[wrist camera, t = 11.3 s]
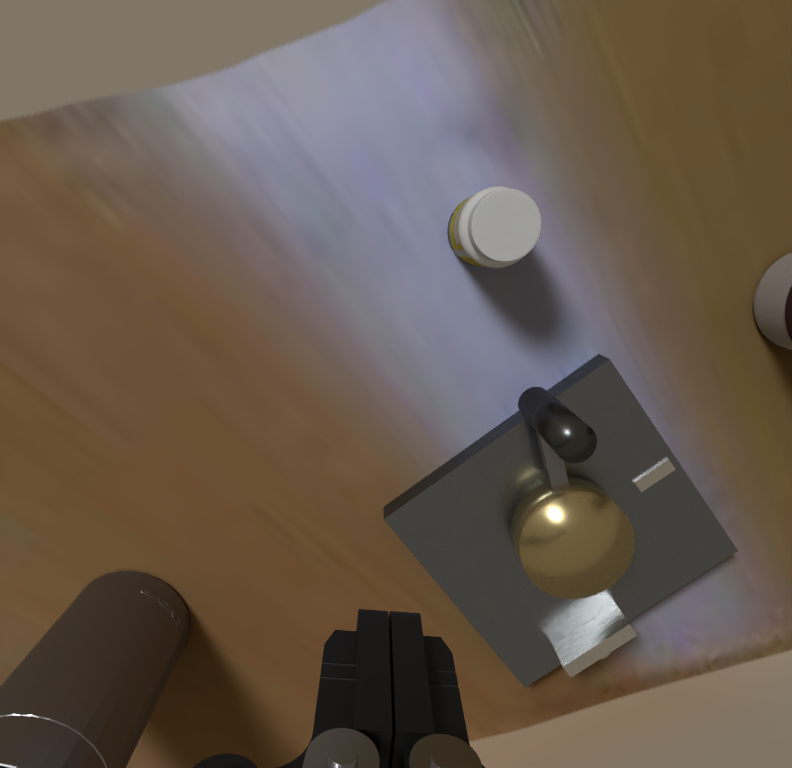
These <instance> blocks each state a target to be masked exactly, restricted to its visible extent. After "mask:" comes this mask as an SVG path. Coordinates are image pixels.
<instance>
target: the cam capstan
mask: <svg viewBox="0 0 792 768" xmlns="http://www.w3.org/2000/svg"><path fill="white" fill-rule="evenodd" d="M518 407H519V410H520V412H521V414H522V415H523V416H524V417H525V418H526V420H527V421H528V422H529V423H530V424H531V425H532V426H533V428H534V429H535V430H536V434H537V439H538V443H539V447H540V451H541V456H542V460H543V464H544V468H545V472H546V477H547V482H545V483H543V484H541V485H539V486H537V487H536V488H534V489H533V490H532V491H530V492H529V493H528V494H527V495H526V496H525V497H524V498H523V499H522V501H521V502H520V503H519V505H518V507H517V509H516V510H515V513H514V515H513V519H512V523H511V538H512V543H513V546H514V548H515V550H516V553H517V555H518V557H519V559H520V561H521V563H522V566H523V568H524V570H525V572H526V574H527V576H528V577H529V579H530V580H531V581H532V582H533V583H534V584H535V585H536V586H537V587H538V588H539V589H541V590H542V591H544V592H546V593H547V594H550V595H552V596H555V597H559V598H564V599H581V598H587V597H591V596H594V595H596V594H599V593H601V592H603V591H605V590H606V589H608V588H610V587H611V586H612V585H613V584H615V583H616V582H617V581H618V580H619V579H620V578H621V577H622V575H623V574H624V573H625V572H626V570H627V568H628V567H629V565H630V563H631V560H632V557H633V554H634V549H635V536H634V531H633V527H632V525H631V522H630V520H629V519H628V517H627V516H626V514H625V513H624V512H623V511H622V510H621V509H620V508H619V506H618V505H617V504H616V503H615V502H614V501H613V500H612V499H611V498H610V497H609V496H608V495H607V494H606V493H605V492H604V491H603V490H602V489H601V488H600V487H598V486H597V485H595V484H594V483H591V482H589V481H587V480H583V479H579V478H568V477H567V473H566V469H565V464H564V461H565V462H568V463H580V462H583V461H585V460H587V459H588V458H590V457H591V456H592V454H593V453H594V451H595V449H596V446H597V437H596V434H595V432H594V430H593V429H592V428H591V427H589V426H588V425H587V424H586V423H585V422H584V421H582V420H581V419H580V418H579V417H578V416H576V415H575V414H574V413H573V412H572V411H570V410H569V409H568V408H567V407H566V406H564V405H563V404H562V403H561V402H560V401H558V400H557V399H556V398H555V397H554V396H552V395H551V394H550V393H549V392H548V391H547V390H545V389H543V388H541V387H532V388H529V389H527V390H526V391H524V392H523V393H522V395H521V396H520V398H519V402H518Z"/></svg>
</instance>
